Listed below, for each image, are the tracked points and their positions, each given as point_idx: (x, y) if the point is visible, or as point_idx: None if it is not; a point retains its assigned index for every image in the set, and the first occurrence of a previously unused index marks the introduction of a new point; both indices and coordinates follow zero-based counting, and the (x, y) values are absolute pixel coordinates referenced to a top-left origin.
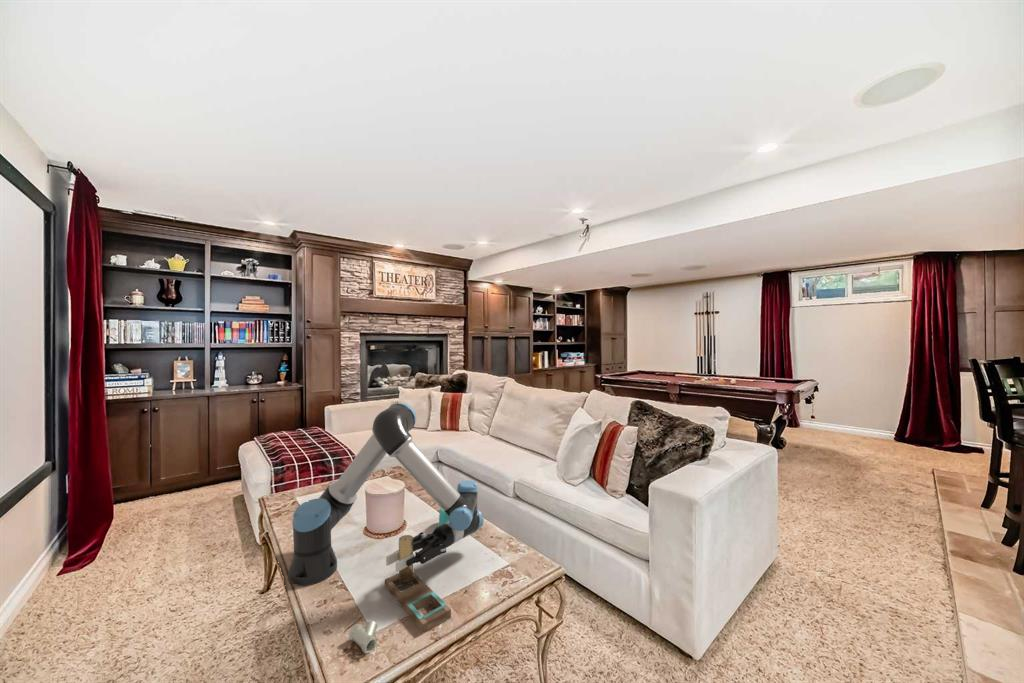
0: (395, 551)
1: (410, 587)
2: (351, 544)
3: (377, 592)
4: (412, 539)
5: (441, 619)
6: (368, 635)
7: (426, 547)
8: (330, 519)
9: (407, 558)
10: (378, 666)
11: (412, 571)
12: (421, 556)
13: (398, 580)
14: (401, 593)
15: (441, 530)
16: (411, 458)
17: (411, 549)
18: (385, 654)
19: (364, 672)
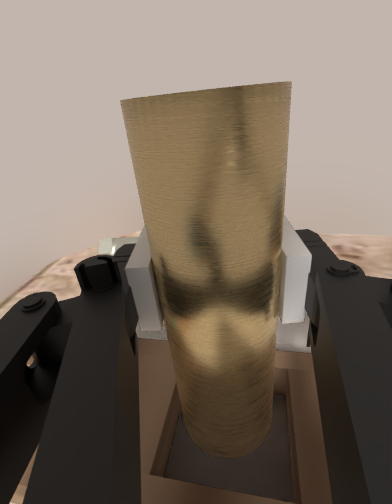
0: (320, 238)
1: (166, 404)
2: None
3: (304, 346)
4: (126, 106)
5: None
6: (115, 241)
7: (68, 452)
8: None
9: (141, 235)
10: (69, 262)
11: (180, 390)
12: (36, 295)
13: (290, 409)
14: (170, 353)
15: None
16: None
17: (143, 215)
18: (72, 275)
19: (86, 250)
